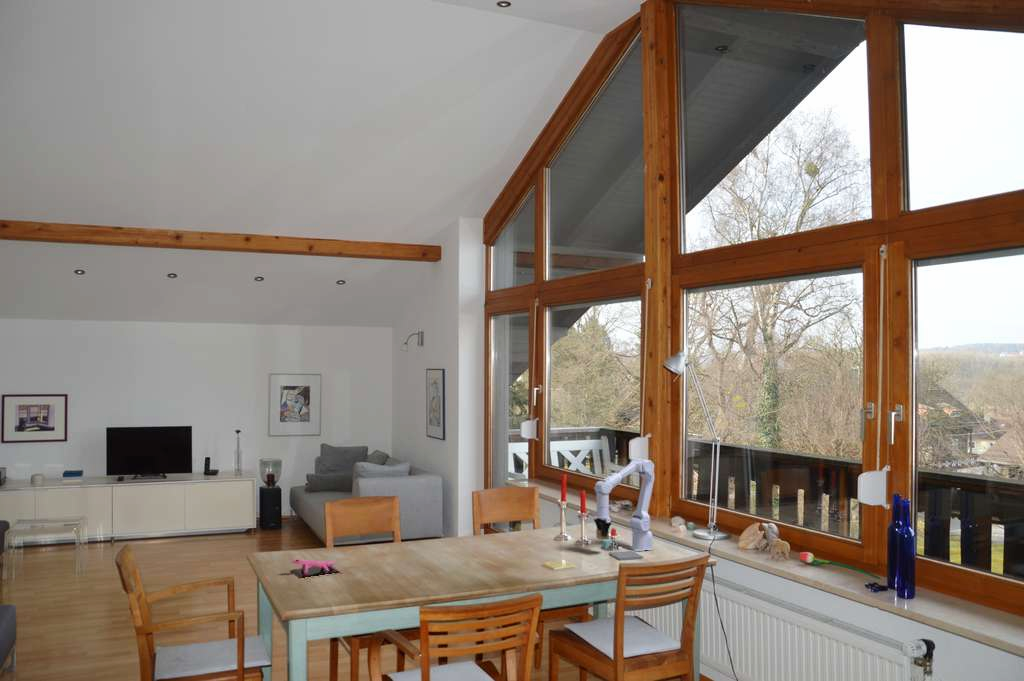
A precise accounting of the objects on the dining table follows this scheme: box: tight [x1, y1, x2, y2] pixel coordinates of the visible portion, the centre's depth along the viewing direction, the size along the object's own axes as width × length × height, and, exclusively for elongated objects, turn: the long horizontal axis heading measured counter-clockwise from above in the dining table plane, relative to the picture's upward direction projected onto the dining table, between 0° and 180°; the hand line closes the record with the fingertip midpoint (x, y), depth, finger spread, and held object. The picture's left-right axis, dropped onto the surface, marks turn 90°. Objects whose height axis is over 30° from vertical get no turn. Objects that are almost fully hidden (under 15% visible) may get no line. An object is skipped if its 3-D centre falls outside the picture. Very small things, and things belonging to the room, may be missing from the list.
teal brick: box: [601, 538, 616, 550], centre depth 406 cm, size 4×4×4 cm
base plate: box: [608, 550, 644, 561], centre depth 389 cm, size 12×12×1 cm
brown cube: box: [595, 528, 610, 541], centre depth 395 cm, size 4×4×4 cm
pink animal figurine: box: [289, 557, 340, 579], centre depth 357 cm, size 15×20×7 cm
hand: (602, 535), depth 395 cm, fingers closed on brown cube, 4 cm apart
